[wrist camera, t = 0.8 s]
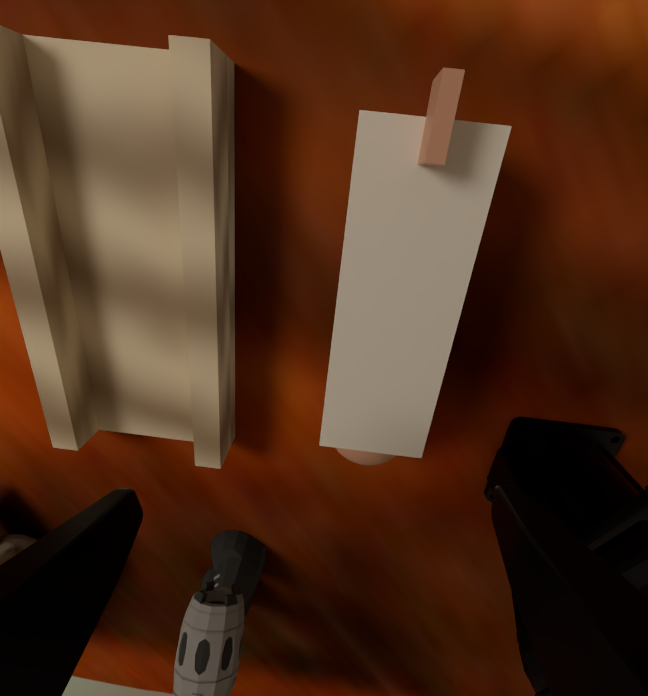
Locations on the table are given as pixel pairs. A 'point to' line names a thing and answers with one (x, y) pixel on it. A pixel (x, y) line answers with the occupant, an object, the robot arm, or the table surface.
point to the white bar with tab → (405, 270)
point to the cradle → (122, 234)
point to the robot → (218, 617)
